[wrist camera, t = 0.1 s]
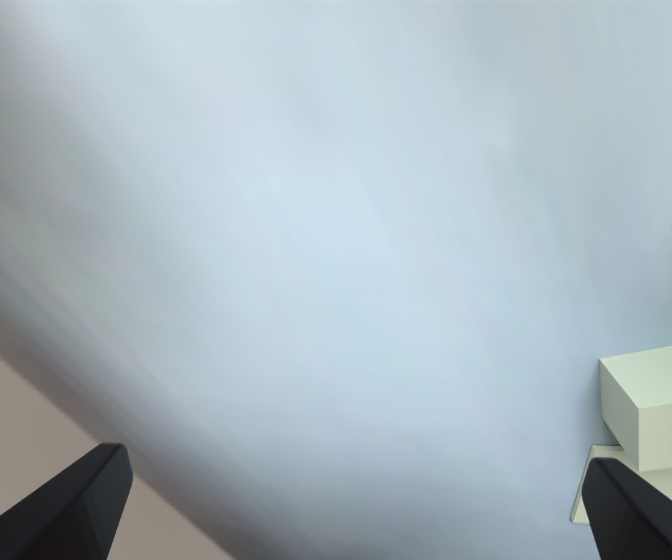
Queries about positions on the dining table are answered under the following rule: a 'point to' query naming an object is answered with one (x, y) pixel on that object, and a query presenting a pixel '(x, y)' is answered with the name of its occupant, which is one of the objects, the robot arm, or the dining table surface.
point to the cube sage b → (640, 405)
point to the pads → (661, 479)
